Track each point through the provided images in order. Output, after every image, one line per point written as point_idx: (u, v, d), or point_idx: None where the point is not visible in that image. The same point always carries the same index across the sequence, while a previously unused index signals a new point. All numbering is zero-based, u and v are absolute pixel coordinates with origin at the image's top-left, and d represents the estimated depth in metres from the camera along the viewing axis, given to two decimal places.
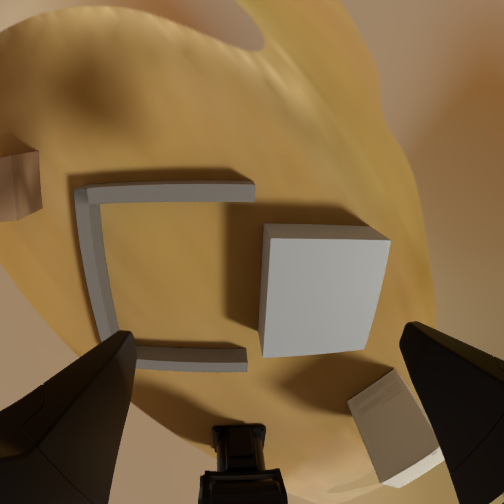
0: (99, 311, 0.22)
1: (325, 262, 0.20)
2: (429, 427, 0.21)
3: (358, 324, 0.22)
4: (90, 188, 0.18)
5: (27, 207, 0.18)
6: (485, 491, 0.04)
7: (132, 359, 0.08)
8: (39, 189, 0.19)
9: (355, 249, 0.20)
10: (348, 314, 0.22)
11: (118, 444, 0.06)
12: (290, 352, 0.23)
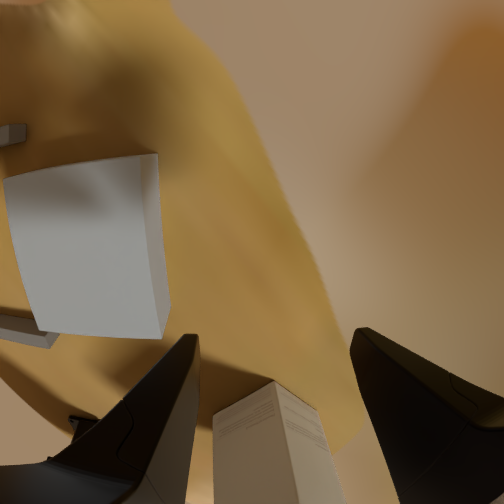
0: None
1: (55, 201, 0.12)
2: (293, 484, 0.13)
3: (131, 296, 0.15)
4: None
5: None
6: None
7: (199, 363, 0.08)
8: None
9: (86, 177, 0.12)
10: (109, 279, 0.14)
11: (191, 452, 0.06)
12: (62, 327, 0.15)
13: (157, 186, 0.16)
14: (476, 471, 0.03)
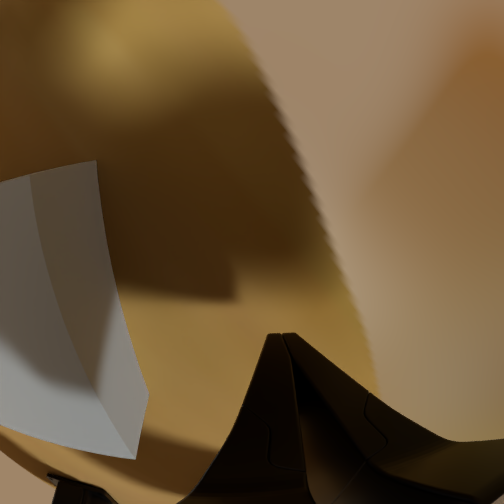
0: None
1: None
2: None
3: (75, 412, 0.07)
4: None
5: None
6: None
7: None
8: None
9: None
10: (37, 386, 0.07)
11: None
12: (5, 423, 0.08)
13: (98, 221, 0.08)
14: None
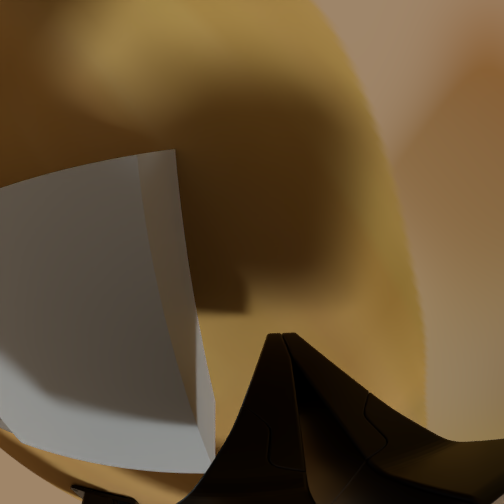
0: None
1: None
2: None
3: (156, 433, 0.07)
4: None
5: None
6: None
7: None
8: None
9: (18, 218, 0.04)
10: (109, 411, 0.06)
11: None
12: (51, 448, 0.07)
13: (179, 217, 0.08)
14: None
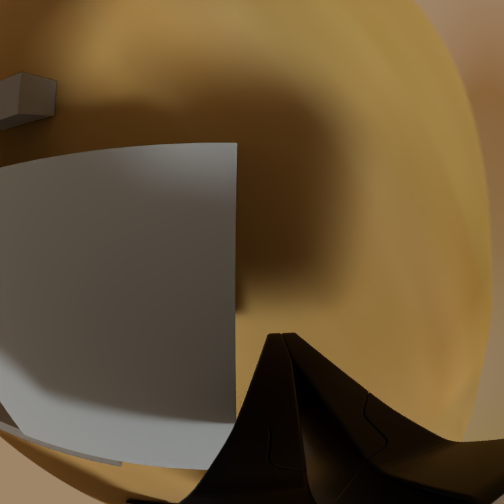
0: None
1: (9, 246, 0.05)
2: None
3: (189, 428, 0.07)
4: None
5: None
6: None
7: None
8: None
9: (78, 191, 0.05)
10: (144, 405, 0.07)
11: None
12: (60, 442, 0.07)
13: None
14: None
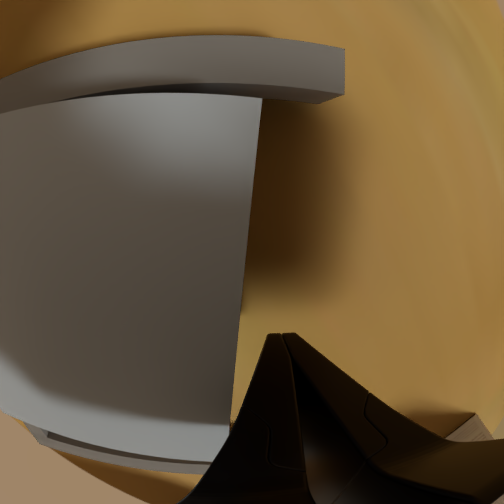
0: None
1: (7, 195, 0.04)
2: None
3: (180, 412, 0.07)
4: None
5: None
6: None
7: None
8: None
9: (90, 136, 0.04)
10: (133, 382, 0.06)
11: None
12: (39, 422, 0.07)
13: None
14: None
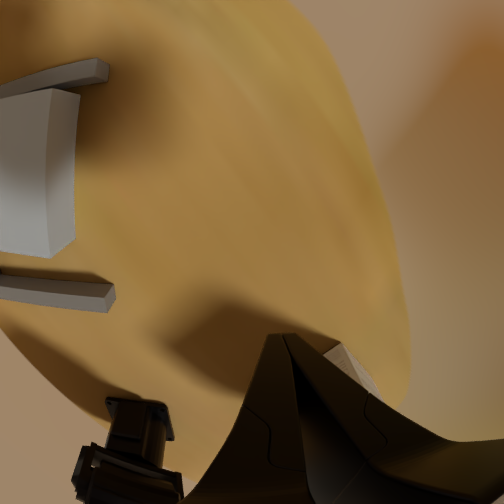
0: None
1: None
2: None
3: (30, 211, 0.13)
4: None
5: None
6: None
7: None
8: None
9: (15, 106, 0.11)
10: (17, 195, 0.13)
11: None
12: None
13: (74, 122, 0.15)
14: None
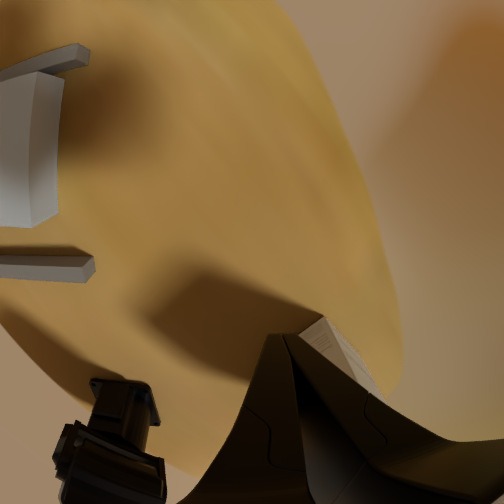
0: None
1: None
2: None
3: (15, 184, 0.13)
4: None
5: None
6: None
7: None
8: None
9: (5, 90, 0.11)
10: (4, 170, 0.13)
11: None
12: None
13: (58, 103, 0.15)
14: None
